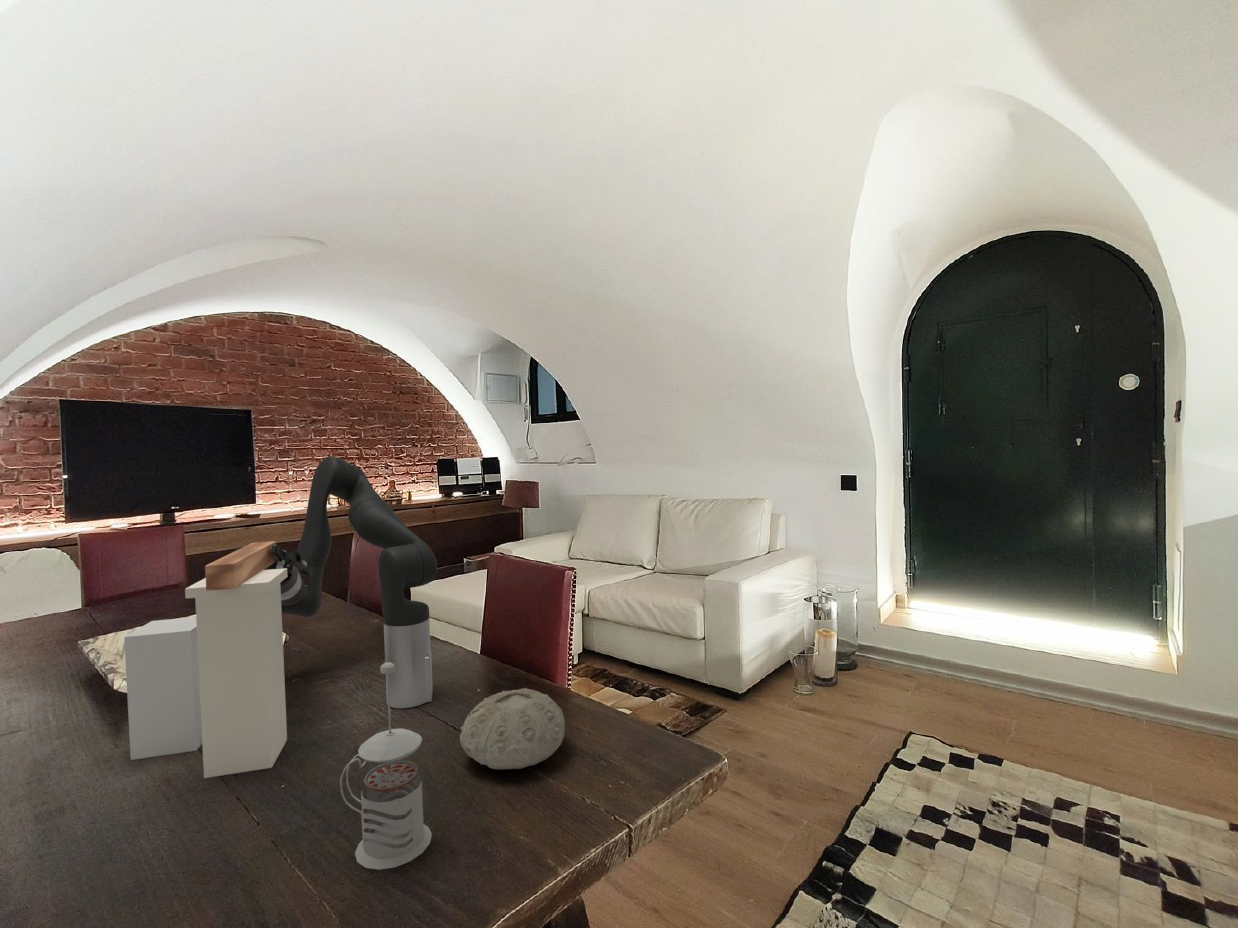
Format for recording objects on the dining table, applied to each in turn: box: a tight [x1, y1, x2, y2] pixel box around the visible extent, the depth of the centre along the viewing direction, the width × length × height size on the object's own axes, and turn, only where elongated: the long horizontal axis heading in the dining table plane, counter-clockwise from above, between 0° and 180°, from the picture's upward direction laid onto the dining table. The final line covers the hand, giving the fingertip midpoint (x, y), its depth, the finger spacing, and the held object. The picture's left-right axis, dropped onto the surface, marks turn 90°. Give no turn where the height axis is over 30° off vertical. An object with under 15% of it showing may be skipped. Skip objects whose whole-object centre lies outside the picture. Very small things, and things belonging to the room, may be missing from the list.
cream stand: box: [184, 568, 288, 779], centre depth 103 cm, size 12×12×32 cm
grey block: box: [123, 616, 202, 761], centre depth 110 cm, size 10×10×22 cm
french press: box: [339, 662, 433, 870], centre depth 80 cm, size 10×12×25 cm
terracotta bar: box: [204, 540, 277, 591], centre depth 106 cm, size 4×24×4 cm, turn 16°
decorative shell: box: [459, 687, 566, 770], centre depth 103 cm, size 18×18×10 cm
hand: (255, 550), depth 112 cm, fingers open, 5 cm apart
